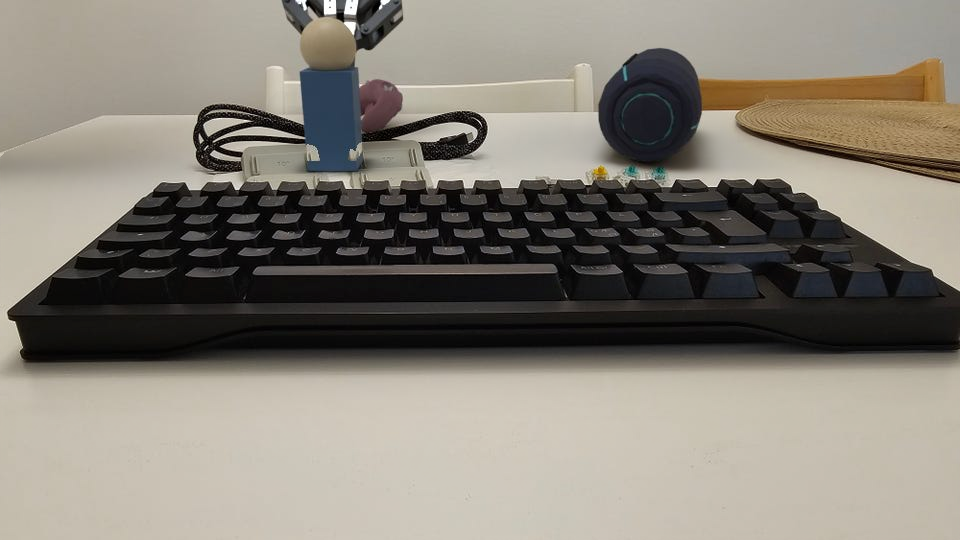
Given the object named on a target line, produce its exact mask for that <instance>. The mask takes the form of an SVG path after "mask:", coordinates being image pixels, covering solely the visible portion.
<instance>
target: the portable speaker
mask: <svg viewBox="0 0 960 540" xmlns="http://www.w3.org/2000/svg"><path fill="white" fill-rule="evenodd" d="M702 99H703V98H702V92H701V86H700V81H699V77H698V74H697V71H696V69H695V67H694V66H693V64H692V62H690V60H689V59H688V58H686V56H684V55H683V54H681V53H679V52H678V51H676V50H673V49H670V48H665V47H664V48H663V47H654V48H648V49H646V50H643V51H641V52H639V53H636V52H635V53H634V54H633V55H631V56H630V57H629V58H628V59H627V60H626V61H625V62H623V63H622V65H621V67H620V68H619V69H618V70H617V71H616V72H615V73H614V74H613V75H612V76H611V77H610V78H609V80H608V82H606V83H605V85H604V88H603V91H602V93H601V96H600V99H599V102H598V105H597V109H598V110H597V112H598V113H597V114H598V125H599V129H600V131H601V134H602V136H603V139H605V141H606V143H607V144H608V145H609V146H610V147H611V148H612V149H613V150H615V151H616V152H617V153H618V154H620V155H621V156H623V157H625V158H628V159H632V160H634V161H636V162H643V163H644V162H647V163H648V162H649V163H650V162H652V163H654V162H658V161H663V160H665V159H668V158H670V157H673V156H674V155H676V154H677V153H679V152H680V151H681V150H682V149H683V148H684V147H685V146H686V145H688V144H689V143H690V142H691V140H692V139H693V137H694V136H695V134H696V133H697V130H698V127H699V125H700V121H701V118H702V114H703V100H702Z"/></svg>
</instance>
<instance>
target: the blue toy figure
mask: <svg viewBox="0 0 960 540" xmlns="http://www.w3.org/2000/svg"><path fill="white" fill-rule="evenodd" d="M299 49H300V54H301V57H302V58H303V60H304V62H305V63H306V64H307V66H308V67H306V68H305V69H302V70H300V71H299V81H300V94H301V107H302V119H303V131H304V141H305V143H304V144H305V146H306V145H307V144H309V145H313V146H315V147H316V148H317V150H318V154H319V158H320V161H307V160H306V166H307V168H306V169H307V172H358V171H359V168H360V167H361V165H362V164H363V162H364V151H362V153H361V154H360V156H359V158H358V159H357V161H349V160H348V157H349V151H350V149H353V150H354V151H356V148H357V145H358V144H359V143H361V142H362V143H363V131H362V128H361V120H362V116H361V110H360V91H359V88H360V77H359V76H360V74H359V67H358V66H355V67H349V66H350V65H351V64H352V62H353V60H354V58H355V59H356V55H357V52H356V41H355V38H354V35H353V33H352V32H351V30H350V29H349V28H348V26H347V25H345V24H344V23H343V22H341V21H340V20H338V19H335V18H331V17H321V18H318V17H317V18H315V19H313V21H311V22H310V23H309V24H308V25H307V26H306V27H305V28H304V30H303V32H302V35H301V34H300V39H299Z"/></svg>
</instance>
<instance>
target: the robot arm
mask: <svg viewBox="0 0 960 540" xmlns="http://www.w3.org/2000/svg"><path fill="white" fill-rule="evenodd" d="M281 3H282V7H283V10H284V13H285V18H286V20H287V21H288V23H290V25H291V26H292V27H293V28H294V29H295V30H296V31H297V32H298V33H299V34H300V36H301V35H302V32H303V30H304V28H305V27H306V26H307V25H308V24H309V23H310V22H311V21H313V20H314V19H313V18H312V17H311V15H309V10H308V8H309V9H310V10H311V12H313V13H314V14H315V15H316V17H317V19H318V18H321V17H331V18H335V19H338V20H340V21H341V22H343V23H344V24H345V25H347V26H348V28H349V29H350V30H351V32H352V33H353V35H354V38H355V41H356V53H357V52H358V51H360V50H362V49H364V50H365V51H372V50H373V49H375V48H376V47H377V46H378V44H380V43H381V42H382V41H383V40H384V39H385V38H386V37H388V35H389V34H390V33H392V32H393V31H394V30H395V29H396V28H397V27H398V26H399V25H400V24H401V23H402V22H403V21H404V8H403V7H404V6H403V0H281ZM349 67H356V57H355V58H354V60H353V62H352V64H351V65H350V66H349Z"/></svg>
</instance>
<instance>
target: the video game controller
mask: <svg viewBox="0 0 960 540" xmlns="http://www.w3.org/2000/svg"><path fill="white" fill-rule="evenodd" d="M359 91H360V110H361V128H362V133H364V134H366V133H370V132H374V133H376V131H377V132H379V131H381V130H383V129H385V128H386V126H387V125H388V124H389V123H390V122H391V121H392V120H393V118H395V117H397V115H398V113H400V112H401V111H402V110H403V101H404V95H403V93H402V92H400V91H399V89H398V88H397V86H396V85H395V84H394V83H392V82H390V81H387V80H385V79H380V78H375V79H372V80H369V79H367V80H366V81H365V83H364V84H362V85H361V86H359ZM370 134H371V133H370Z"/></svg>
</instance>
